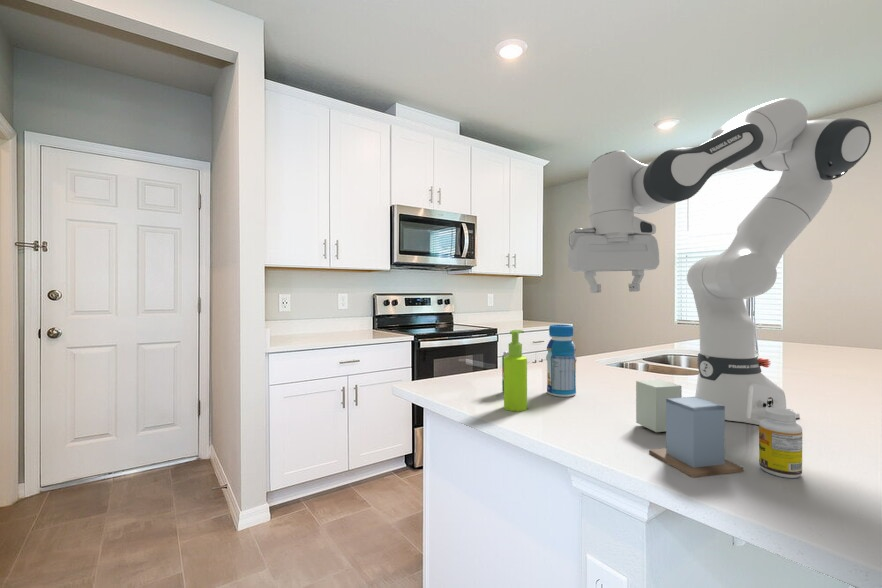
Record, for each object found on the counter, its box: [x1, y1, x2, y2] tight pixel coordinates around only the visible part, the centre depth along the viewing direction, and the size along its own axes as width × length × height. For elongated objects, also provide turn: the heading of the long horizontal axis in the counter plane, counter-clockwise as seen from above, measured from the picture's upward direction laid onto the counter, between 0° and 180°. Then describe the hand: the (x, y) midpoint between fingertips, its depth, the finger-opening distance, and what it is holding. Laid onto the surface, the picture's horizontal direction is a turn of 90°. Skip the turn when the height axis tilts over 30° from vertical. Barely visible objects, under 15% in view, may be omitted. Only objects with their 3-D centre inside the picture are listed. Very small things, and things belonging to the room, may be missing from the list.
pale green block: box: [635, 379, 683, 433], centre depth 89 cm, size 6×6×10 cm
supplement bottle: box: [758, 408, 803, 479], centre depth 68 cm, size 6×6×10 cm
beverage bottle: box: [545, 324, 577, 398], centre depth 119 cm, size 8×8×20 cm
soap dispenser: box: [503, 329, 528, 412], centre depth 106 cm, size 6×7×20 cm
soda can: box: [501, 351, 509, 394], centre depth 120 cm, size 5×5×12 cm
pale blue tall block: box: [665, 396, 726, 468], centre depth 72 cm, size 6×6×10 cm
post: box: [648, 447, 744, 478], centre depth 72 cm, size 10×10×9 cm
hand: (615, 292), depth 88 cm, fingers open, 8 cm apart
